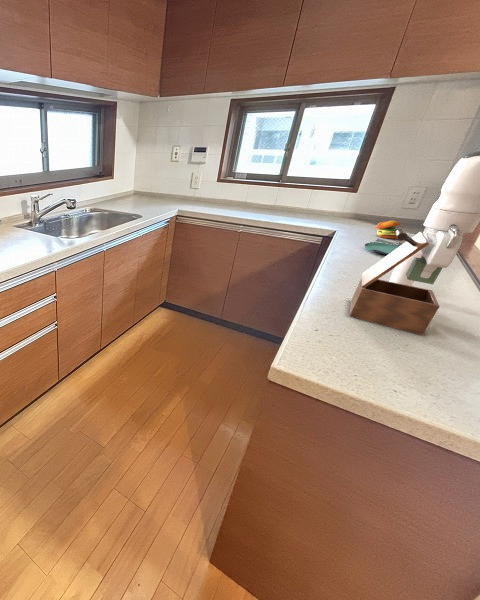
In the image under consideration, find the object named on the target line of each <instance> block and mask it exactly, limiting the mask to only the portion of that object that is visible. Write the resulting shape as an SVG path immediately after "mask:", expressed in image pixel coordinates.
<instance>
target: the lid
mask: <svg viewBox="0 0 480 600" xmlns="http://www.w3.org/2000/svg"><path fill="white" fill-rule="evenodd" d="M395 234H396V237H397V239H398V241H405V242H404V243H403V245H401V246H400V247H398V248H397V249H396V250H394V251H393V252H391V253H390V254H389V255H387V254H386V256H384V257H383V258H382V259H380V260H379V261H377V262H376V263H375V264H372V265H371V267H369V268H368V269H366V270H365V271H364V272H362V273H361V278H362V287H363V288H366V287H367V286H369V285H370V284H371V283H373V282H374V281H376V280H377V279H380V278H382V277H383V276H385V275H386V274H388V273H389V272H391V271H392V270H394V268H395V267H396V266H398V265H399V264H401V263H402V262H404V261H405V260H407V259H408V258H410V257H411V256H412V255H414V254H415V253H417V252H418V251H420V250H421V249H423V248H424V247H426V246H427V245H429V244H430V243H429V242H428V240H427V239H426V237H425V236H424V234H423V232H422V231H419V232H418V233H417V234H415V235H414V236H412V237H410V236H409V235H408V233H407V231H406V230H405V229H403V228H399V230H397V231H396V233H395ZM397 239H396V240H397Z"/></svg>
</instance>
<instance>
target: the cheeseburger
mask: <svg viewBox="0 0 480 600" xmlns="http://www.w3.org/2000/svg"><path fill="white" fill-rule="evenodd" d="M400 225H401V224H400V222H398V221H397V220H396V219H395V220H388V221H380V222H379V223H377V225H376V226H375V229H377V232H376V236H377V237H379V238H380V239H393V240H398V239H397V237H396V234H395V233H396V231H397V230H399V229H400V228H399V229H398V228H397V226H400ZM398 241H399V240H398Z"/></svg>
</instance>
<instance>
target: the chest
mask: <svg viewBox="0 0 480 600" xmlns="http://www.w3.org/2000/svg"><path fill="white" fill-rule="evenodd" d="M389 281H390V280H384V279H380V278H379V279H377V280H376V281H374V282H373V283H371V284H370V285H369V286H367V287H366V288H363V287H362V277H361V278H360V280H359V282H358V284H357V286H356V288H355V291H354V293H353V295H352V297H351V299H350V306H349V317H350V318H354V319H358V320H363V321H366V322H370V323H374V324H377V325H382V326H385V327H389V328H392V329H397V330H400V331H404V332H408V333H412V334H415V335H418V336H423V335H424V333H425V332H426V330H427V328H428V327H429V324H430V323H431V322H432V320H433V319H434V316H435V315H436V313H437V312H438V310H439V309H440V304H439V302H438V300H437V297H436V295H435V293H434V291H433V289H428V288H423V287H418V286H413V285H412V286H409V285H404V284H399V283H394V282H389Z"/></svg>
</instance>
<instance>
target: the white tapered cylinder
mask: <svg viewBox="0 0 480 600" xmlns="http://www.w3.org/2000/svg"><path fill="white" fill-rule="evenodd" d="M421 255H422V252H421V251H418V252H417V253H415V254H414V255H412V256H411V257H410V258H408V259H407V260H405V261H404V262H402V263H401V264H399V265H398V266H396V267H395V268H393V269H392V270H393V271H392V273H391V276H390V278H389V280H388V281H389V282H394V283H399V284H404V285H409V286H413V284H414V283H415V281H413V280H408V279H407V276H406V273H407V271H408V269H409V267H410V265H411V263H412V261H413V259H414V257H416V258H421Z"/></svg>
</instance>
